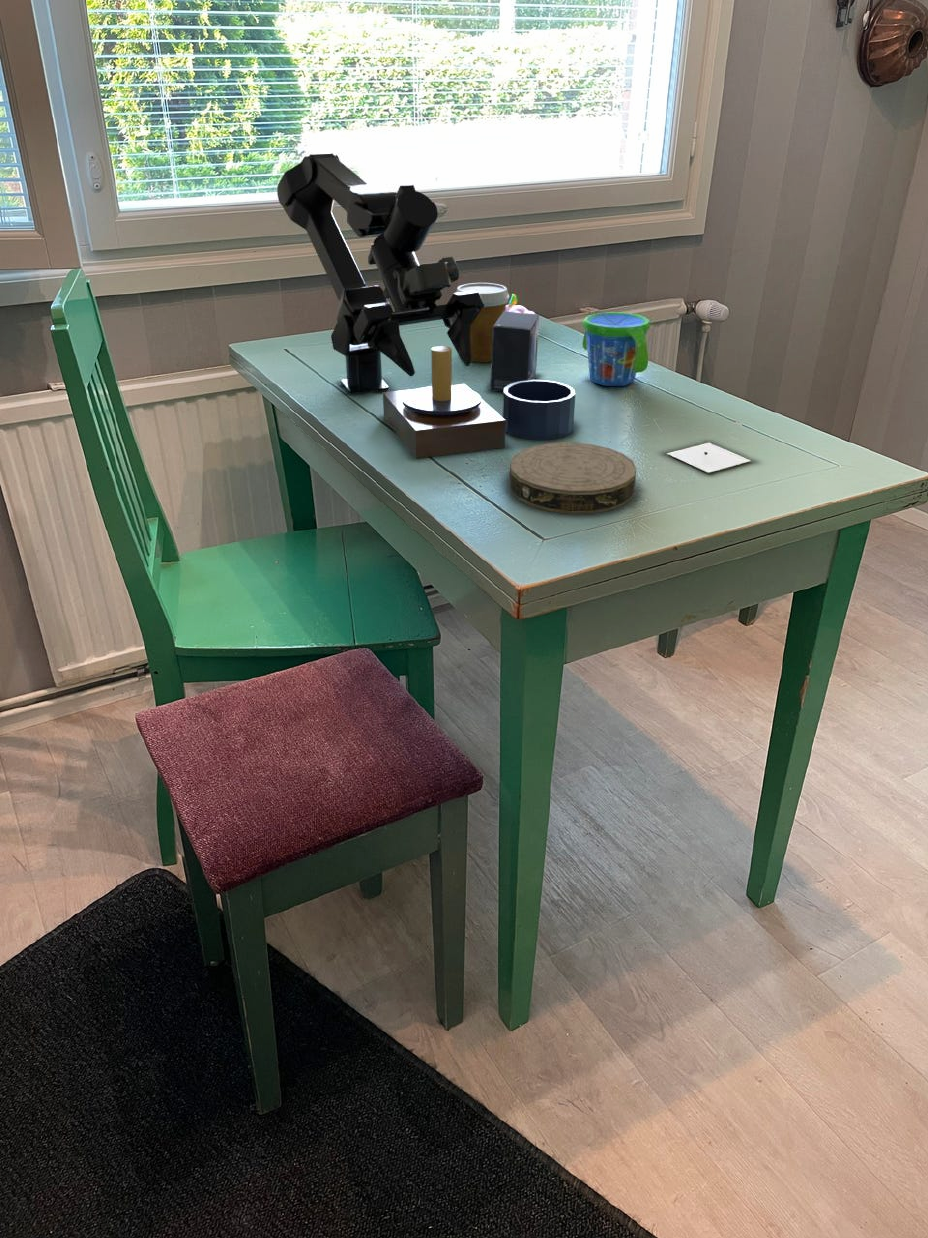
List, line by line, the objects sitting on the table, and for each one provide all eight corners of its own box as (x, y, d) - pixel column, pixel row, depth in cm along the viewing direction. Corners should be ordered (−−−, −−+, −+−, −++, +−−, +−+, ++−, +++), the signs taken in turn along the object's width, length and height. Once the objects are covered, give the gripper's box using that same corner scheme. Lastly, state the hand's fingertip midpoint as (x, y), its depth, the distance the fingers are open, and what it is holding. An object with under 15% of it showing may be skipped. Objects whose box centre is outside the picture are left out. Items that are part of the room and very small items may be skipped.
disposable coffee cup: (517, 354, 170) (519, 286, 164) (490, 367, 163) (491, 296, 157) (472, 346, 174) (473, 279, 168) (444, 359, 167) (444, 289, 161)
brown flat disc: (653, 507, 114) (656, 485, 113) (527, 519, 111) (528, 495, 110) (609, 459, 128) (611, 438, 126) (495, 468, 125) (496, 446, 123)
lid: (407, 391, 139) (406, 336, 135) (483, 394, 138) (484, 338, 134) (397, 417, 130) (395, 359, 125) (479, 420, 129) (479, 361, 125)
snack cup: (563, 370, 162) (566, 310, 156) (617, 365, 165) (622, 305, 160) (604, 398, 149) (610, 334, 144) (662, 391, 152) (670, 328, 147)
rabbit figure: (489, 323, 194) (514, 329, 180) (489, 293, 191) (513, 297, 178) (518, 321, 195) (544, 327, 182) (517, 291, 193) (544, 295, 180)
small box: (529, 394, 151) (531, 328, 145) (489, 391, 152) (490, 326, 146) (537, 375, 160) (540, 312, 154) (500, 372, 161) (501, 310, 155)
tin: (492, 419, 141) (493, 383, 138) (555, 412, 144) (557, 377, 141) (518, 443, 132) (519, 405, 130) (584, 435, 135) (587, 398, 133)
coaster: (751, 460, 127) (752, 455, 127) (708, 472, 123) (709, 467, 123) (708, 442, 133) (709, 437, 132) (666, 453, 129) (667, 448, 129)
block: (383, 418, 141) (382, 392, 139) (465, 409, 145) (465, 383, 143) (416, 458, 127) (415, 430, 125) (505, 447, 131) (505, 419, 129)
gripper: (358, 242, 122) (401, 348, 120) (478, 230, 131) (520, 328, 129) (335, 293, 132) (375, 391, 130) (449, 278, 140) (487, 370, 138)
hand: (441, 369), depth 131 cm, fingers open, 9 cm apart
